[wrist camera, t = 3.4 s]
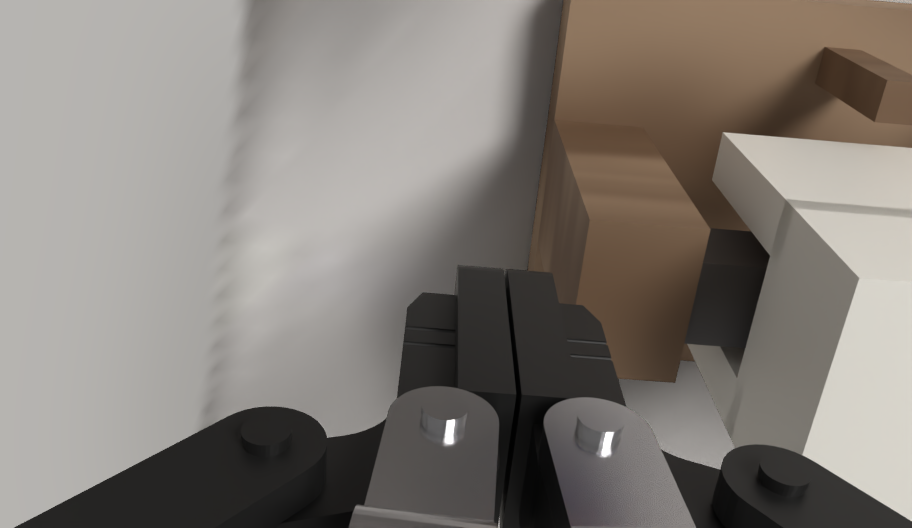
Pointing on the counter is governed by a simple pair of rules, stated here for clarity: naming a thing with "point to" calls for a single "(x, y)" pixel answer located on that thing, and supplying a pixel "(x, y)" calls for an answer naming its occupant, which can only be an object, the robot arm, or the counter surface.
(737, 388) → the grooved cream cube
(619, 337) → the brown peg stand
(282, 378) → the counter surface
